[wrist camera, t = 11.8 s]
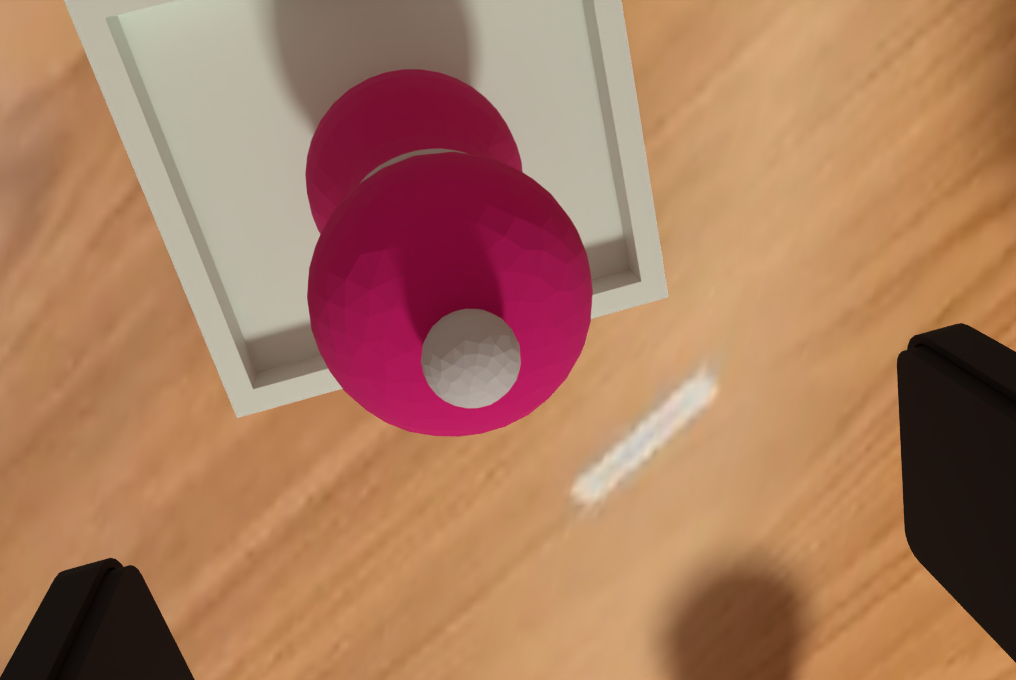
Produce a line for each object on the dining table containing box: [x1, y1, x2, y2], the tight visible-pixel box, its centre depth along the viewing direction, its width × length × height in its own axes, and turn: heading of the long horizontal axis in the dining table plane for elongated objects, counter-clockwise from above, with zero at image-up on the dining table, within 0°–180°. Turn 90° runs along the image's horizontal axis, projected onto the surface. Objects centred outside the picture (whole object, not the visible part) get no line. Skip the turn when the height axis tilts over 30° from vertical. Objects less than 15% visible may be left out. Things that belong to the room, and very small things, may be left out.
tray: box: [64, 0, 668, 418], centre depth 32 cm, size 18×16×2 cm
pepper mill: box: [305, 69, 593, 436], centre depth 23 cm, size 7×7×20 cm
